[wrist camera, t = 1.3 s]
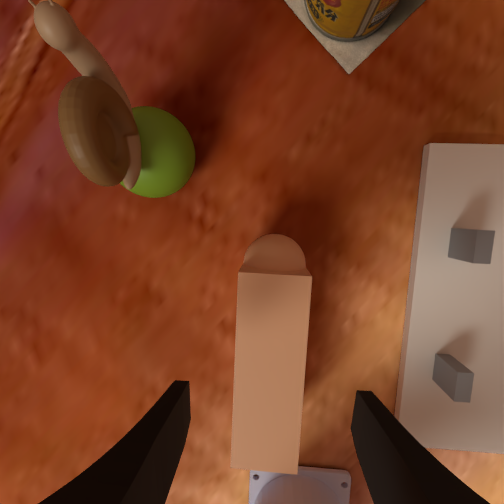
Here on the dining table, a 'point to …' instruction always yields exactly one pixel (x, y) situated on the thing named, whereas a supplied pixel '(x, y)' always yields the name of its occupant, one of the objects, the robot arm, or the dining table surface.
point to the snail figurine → (113, 119)
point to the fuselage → (270, 355)
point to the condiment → (352, 24)
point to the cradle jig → (456, 303)
